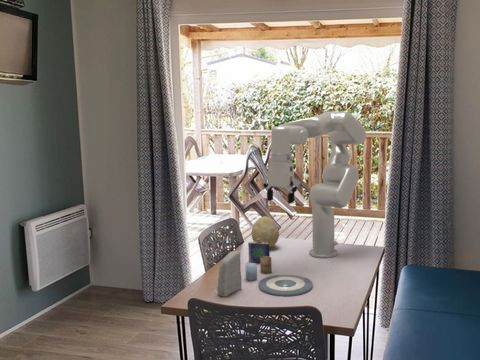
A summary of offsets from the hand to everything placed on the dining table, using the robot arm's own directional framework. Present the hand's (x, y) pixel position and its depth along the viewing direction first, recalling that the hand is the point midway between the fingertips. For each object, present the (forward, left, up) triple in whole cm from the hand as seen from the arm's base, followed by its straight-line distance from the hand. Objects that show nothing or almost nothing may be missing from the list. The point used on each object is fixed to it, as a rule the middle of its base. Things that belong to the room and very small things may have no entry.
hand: (280, 201), depth 208 cm
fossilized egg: (-23, -24, -29) cm, 44 cm away
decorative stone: (+29, -4, -29) cm, 41 cm away
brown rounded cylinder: (+4, -5, -29) cm, 29 cm away
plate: (+13, +10, -29) cm, 33 cm away
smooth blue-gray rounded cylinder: (+14, -5, -29) cm, 32 cm away
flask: (-4, -14, -29) cm, 32 cm away
